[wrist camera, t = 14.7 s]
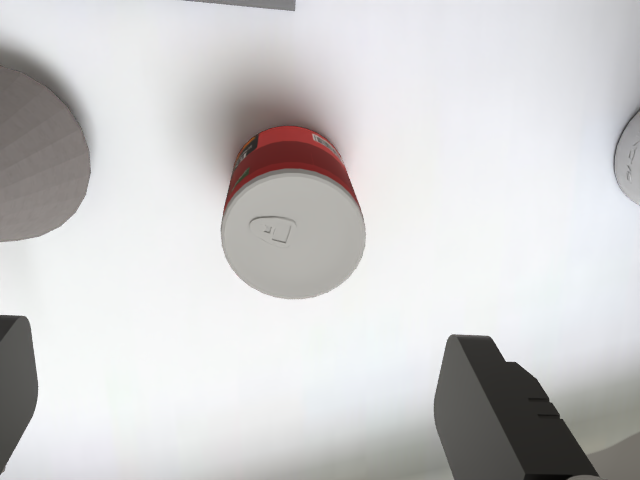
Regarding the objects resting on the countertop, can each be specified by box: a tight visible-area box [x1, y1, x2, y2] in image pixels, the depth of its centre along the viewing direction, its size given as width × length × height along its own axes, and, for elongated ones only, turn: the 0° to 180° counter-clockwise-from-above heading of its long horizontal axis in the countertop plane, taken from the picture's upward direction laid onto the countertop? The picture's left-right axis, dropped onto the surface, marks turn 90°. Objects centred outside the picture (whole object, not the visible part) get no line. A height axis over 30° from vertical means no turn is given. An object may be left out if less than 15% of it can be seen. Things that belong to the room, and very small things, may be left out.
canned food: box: [221, 126, 366, 299], centre depth 36 cm, size 8×8×11 cm
